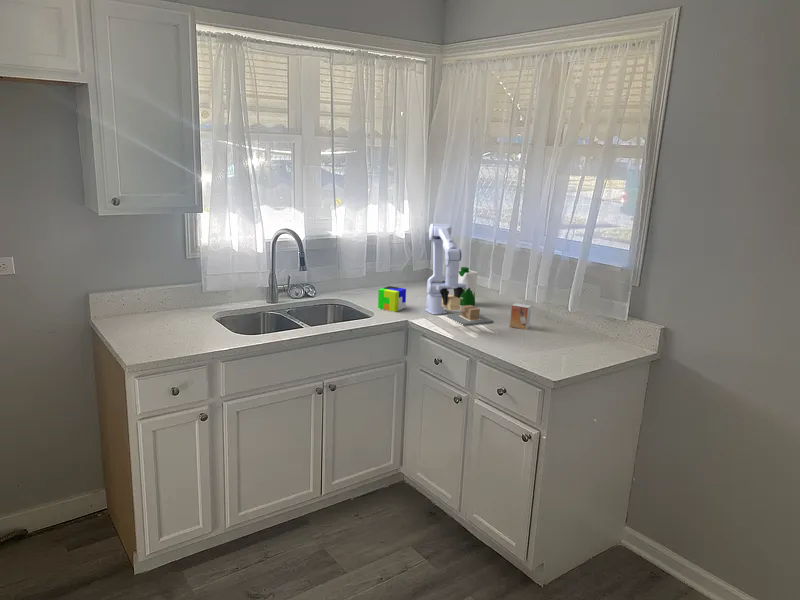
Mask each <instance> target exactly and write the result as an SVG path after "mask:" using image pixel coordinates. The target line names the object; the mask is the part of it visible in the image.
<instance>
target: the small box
mask: <svg viewBox="0 0 800 600" xmlns="http://www.w3.org/2000/svg"><path fill="white" fill-rule="evenodd" d="M510 310H511V311H510V320H509V327H510V328H516V329H520V330H525V331H526V330H527V329H529V328H530V324H531V323H530V322H531V315H532V314H531V313H532V305H529V304H523V303H517V302H514V303H513V304H511V308H510Z"/></svg>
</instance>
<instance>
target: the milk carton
mask: <svg viewBox="0 0 800 600" xmlns="http://www.w3.org/2000/svg"><path fill="white" fill-rule="evenodd" d="M478 274H479V272H478V271H475V270H470V268H469V267H466V266H462V267H460V269H459V275H458V283H465V284H466V288H462V289H463V293H462V294H461V296H460V305H462V306H466V305H475V306H476V288H477V287H476V285H477V277H478ZM462 306H461V307H462Z"/></svg>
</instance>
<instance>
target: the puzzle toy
mask: <svg viewBox="0 0 800 600" xmlns="http://www.w3.org/2000/svg"><path fill="white" fill-rule="evenodd" d="M377 295H378V297H377V299H378V300H377V309H378V308H380V309H379V310H382V309H385V310H384V311H387V310H389V311H388V312H392V311H393V312H392V313H396V312H398V310H399V311H402V310H404V309H406V302H407V301H406V300H407V299H406V297H407V288H403V287H397V286H393V285H392V286H391V285H389V286H385V287H382V288H379V289H378V293H377ZM403 308H404V309H403Z"/></svg>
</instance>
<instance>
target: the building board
mask: <svg viewBox="0 0 800 600" xmlns="http://www.w3.org/2000/svg"><path fill="white" fill-rule="evenodd" d="M446 317H447V318H448V317H449V319H450V318H451V319H450V320H452V319H453V321H454V320H455V321H454V322H456V321H457V322H456V323H458V322H459V323H458V324H460V323H461V324H460V325H462V324H463V325H462V326H464V325H467V326H473V325H472V324H476V325H484V323H485V324H493V323H494V320H492V319H491V318H488V317H486V316H484V315H483V314H480V313H479V319H477V320H469V319H467V318H465V317H463V316H461V313H454V314H453V313H451V314H446Z"/></svg>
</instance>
